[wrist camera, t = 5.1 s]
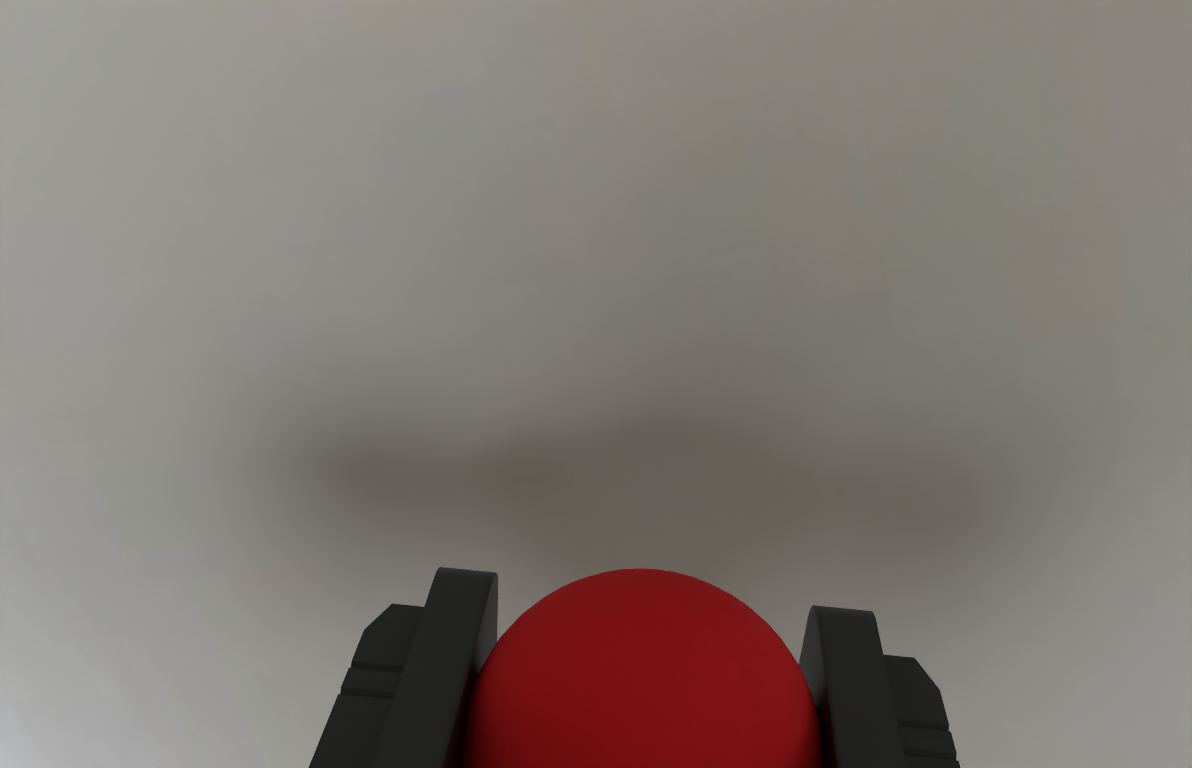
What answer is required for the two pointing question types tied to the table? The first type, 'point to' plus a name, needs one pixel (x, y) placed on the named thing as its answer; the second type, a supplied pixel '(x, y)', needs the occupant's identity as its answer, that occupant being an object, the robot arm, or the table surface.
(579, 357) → the table surface
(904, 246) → the table surface
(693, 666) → the strawberry
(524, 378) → the table surface
